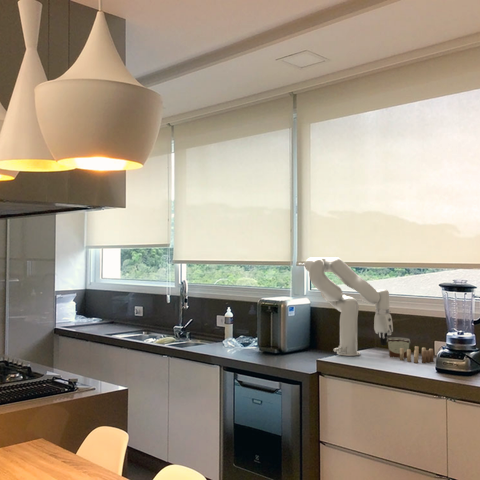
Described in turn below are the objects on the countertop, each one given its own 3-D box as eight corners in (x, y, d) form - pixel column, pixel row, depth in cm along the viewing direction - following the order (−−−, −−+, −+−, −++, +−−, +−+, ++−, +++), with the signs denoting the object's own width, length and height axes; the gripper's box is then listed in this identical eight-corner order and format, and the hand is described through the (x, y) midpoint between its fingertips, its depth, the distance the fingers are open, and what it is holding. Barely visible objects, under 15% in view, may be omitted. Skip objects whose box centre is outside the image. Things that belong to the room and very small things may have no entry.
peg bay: (420, 364, 277) (420, 352, 277) (399, 360, 288) (399, 348, 288) (438, 361, 285) (438, 349, 285) (416, 357, 296) (416, 346, 296)
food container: (410, 356, 299) (410, 337, 299) (410, 358, 293) (410, 339, 294) (386, 355, 302) (386, 336, 303) (386, 357, 297) (386, 338, 297)
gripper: (397, 312, 304) (398, 345, 304) (376, 310, 316) (377, 342, 316) (388, 313, 300) (389, 347, 299) (367, 311, 312) (368, 344, 312)
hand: (383, 344), depth 308 cm, fingers closed
